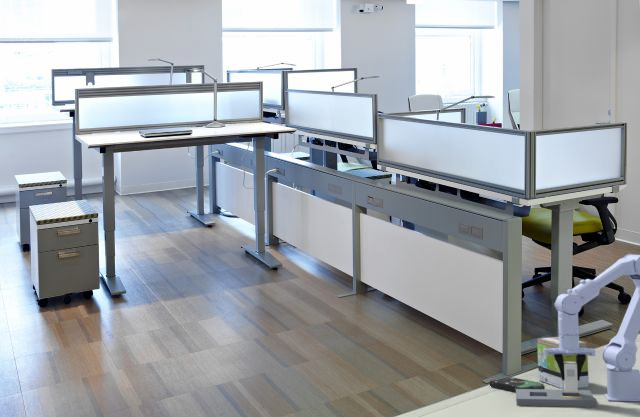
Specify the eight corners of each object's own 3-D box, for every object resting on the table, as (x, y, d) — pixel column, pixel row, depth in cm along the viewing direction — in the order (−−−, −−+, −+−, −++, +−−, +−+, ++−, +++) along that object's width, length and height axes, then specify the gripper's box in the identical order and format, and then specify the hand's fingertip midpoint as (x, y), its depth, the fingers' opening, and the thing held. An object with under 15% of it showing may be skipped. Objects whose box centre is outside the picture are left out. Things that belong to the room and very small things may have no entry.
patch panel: (590, 396, 236) (589, 389, 236) (595, 407, 222) (595, 399, 222) (516, 395, 241) (515, 388, 241) (516, 405, 227) (516, 398, 227)
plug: (576, 388, 232) (575, 361, 232) (578, 391, 227) (577, 364, 228) (564, 388, 233) (563, 361, 233) (565, 391, 228) (564, 364, 228)
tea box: (537, 381, 262) (535, 337, 262) (563, 379, 264) (561, 335, 265) (563, 389, 247) (561, 343, 248) (590, 387, 250) (588, 341, 250)
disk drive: (489, 389, 254) (522, 396, 242) (488, 380, 254) (522, 387, 242) (511, 385, 260) (545, 391, 247) (511, 376, 260) (545, 382, 247)
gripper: (544, 336, 229) (546, 382, 228) (595, 336, 225) (597, 382, 225) (543, 332, 236) (544, 377, 235) (593, 332, 232) (594, 378, 232)
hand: (570, 379), depth 231 cm, fingers closed on plug, 4 cm apart
